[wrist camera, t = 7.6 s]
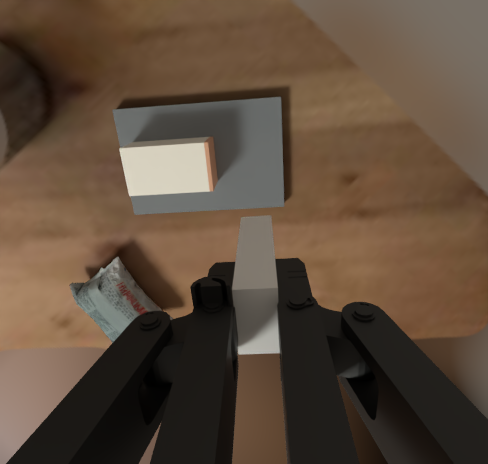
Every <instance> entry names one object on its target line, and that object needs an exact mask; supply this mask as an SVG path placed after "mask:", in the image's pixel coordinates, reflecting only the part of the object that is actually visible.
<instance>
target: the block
mask: <svg viewBox="0 0 488 464" xmlns="http://www.w3.org/2000/svg"><path fill="white" fill-rule="evenodd" d="M119 150H120V155H121V160H122V164H123V169H124V174H125V178H126V183H127V188H128V192H129V196H141V195H159V194H176V193H193V192H210V191H214V189H215V187H216V184H217V182H218V177H217V168H216V159H215V149H214V140H213V137H199V138H184V139H170V140H155V141H141V142H132V143H130V144H128V145H125V146H123V147H121V148H119Z"/></svg>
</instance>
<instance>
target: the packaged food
mask: <svg viewBox="0 0 488 464" xmlns="http://www.w3.org/2000/svg"><path fill="white" fill-rule="evenodd" d="M69 286H70V288H71V291H72V294H73V297H74V299H75V301H76V304H77V305H78V306H80V307H81V308H82V309H83V310H84V311H85V312H86V313H87V314H88V315H89V316H90V317H91V318H92V319H94V321H95V322H96V323H97V324H98V325H99V326H100V328H101V329H102V330H103V332H104V333H105V334H106V335H107V337H108V338H110V340H111V341H112V343H113V342H114V341H115V340H116V339H117V338H118V336H119V335H120V334H121V333H122V332H123V331H124V330H125V329H126V327H127V326H128V325H129V324H130V323H131V322H132V321H133V320H134V319H135V318H136V317H137V316H139V315H141V314H143V313H146V312H150V311H162V310H161V308H160V307H159V306H157V305H156V304H155V303H154V302H153V301H152V300H151V299H150V298H149V297H148V296H147V295H146V294H145V293H144V292H143V290H142V289H141V288H140V287H139V286H138V284H137V283H136V282H135V280H134V279H133V278H132V276H131V275H130V273H129V272H128V271H127V269H126V268H125V266H124V265H123V264H122V262H121V261H120V259H119V257H116V258H115V259H114V260H113V261H112V262H111V263H110V264H109V265H108V266H107V267H106V268H105V269H103V268H101V269H100V270H99V272H98V273H97V274H96V275H95V276H94V277H93V278H92V279H90V280H89V281H87V282H86V283H77V284H76V283H71V284H70V285H69ZM170 319H171V320H172V319H173V318H172V317H170Z"/></svg>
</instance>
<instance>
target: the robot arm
mask: <svg viewBox="0 0 488 464" xmlns="http://www.w3.org/2000/svg"><path fill="white" fill-rule="evenodd" d="M191 294H192V300H193V306H194V309H193V312H192V313H190V314H188V315H186V316H183V317H180V318H176V319H172V320H171V319H170V315H168V314H167V313H166V312H163V311H150V312H146V313H143V314H141V315H139V316H137V317H136V318H135V319H134V320H133V321H132V322H131V323H130V324H129V325H128V326H127V327H126V329H125V330H124V331H123V332H122V333H121V334H120V335H119V336H118V338H117V339H116V340H115V341H114V342H113V343H112V344H111V346H110V347H109V348H108V349H107V350H106V351H105V352H104V353H103V355H102V356H101V357H100V358H99V359H98V360H97V361H96V363H95V364H94V365H93V366H92V367H91V368H90V369H89V370H88V372H87V373H86V374H85V375H84V376H83V377H82V379H80V381H79V382H78V383H77V384H76V385H75V386H74V388H73V389H72V390H71V391H70V392H69V393H68V394H67V395H66V397H65V398H64V399H63V400H62V401H61V402H60V403H59V405H57V407H56V408H55V409H54V410H53V411H52V412H51V414H50V415H49V416H48V417H47V418H46V419H45V420H44V421H43V422H42V424H41V425H40V426H39V427H38V428H37V429H36V430H35V432H34V433H33V434H32V435H31V436H30V437H29V438H28V439H27V441H26V442H25V443H24V444H23V445H22V446H21V447H20V449H19V450H18V451H17V452H16V453H15V454H14V455H13V457H12V458H11V459H10V460H9V461H8V462H7V463H6V464H139V462H140V460H141V458H142V456H143V454H144V452H145V450H146V449H147V447H148V445H149V443H150V441H151V439H152V438H153V436H154V434H155V432H156V430H157V429H158V427H159V425H160V423H161V426H160V430H159V433H158V437H157V440H156V444H155V448H154V451H153V455H152V458H151V462H150V464H232V454H233V440H234V425H235V409H236V394H237V379H238V356H237V352H238V353H239V354H262V353H280V369H281V381H282V396H283V408H284V423H285V436H286V450H287V464H359V460H358V456H357V453H356V449H355V445H354V441H353V437H352V433H351V430H350V426H349V422H348V418H347V414H346V410H345V406H344V403H343V399H342V395H341V391H340V387H339V383H338V380H337V376H336V375H338V376H339V378H340V381H341V383H342V385H343V387H344V388H345V390H346V392H347V394H348V395H349V397H350V398H351V400H352V402H353V404H354V405H355V407H356V409H357V410H358V412H359V414H360V416H361V417H362V419H363V421H364V423H365V424H366V426H367V428H368V430H369V431H370V433H371V435H372V436H373V438H374V440H375V441H376V443H377V445H378V447H379V448H380V450H381V451H382V453H383V455H384V457H385V459H386V460H387V462H388V464H488V419H487V418H486V417H485V416H484V415H483V414H482V413H481V412H480V411H479V410H478V409H477V408H476V407H475V406H474V405H473V404H472V403H471V401H469V400H468V398H467V397H466V396H465V395H464V394H463V393H462V392H461V391H460V390H459V389H458V388H457V387H456V386H455V385H454V384H453V383H452V382H451V381H450V380H449V379H448V378H447V377H446V375H445V374H444V373H443V372H442V371H441V370H440V369H439V368H438V367H437V366H436V365H435V364H434V363H433V362H432V361H431V360H430V359H429V358H428V357H427V356H426V355H425V354H424V353H423V352H422V351H421V350H420V349H419V347H418V346H417V345H416V344H415V343H414V342H413V341H412V340H411V339H410V338H409V337H408V336H407V335H406V334H405V333H404V332H403V331H402V330H401V329H400V328H399V327H398V326H397V324H396V323H395V322H394V321H393V320H392V319H391V318H390V317H389V316H388V315H387V314H386V313H385V312H384V311H383V310H382V309H380V308H379V307H378V306H376V305H373V304H371V303H366V302H353V303H350V304H347V305H346V306H345V307H344V308H343V309H342V312H338V311H333V310H329V309H325V308H323V307H321V306H320V305H318V303H317V301H316V299H315V298H314V297H312V293H311V289H310V285H309V281H308V277H307V273H306V269H305V265H304V263H303V262H302V261H301V260H300V259H298V258H288V259H275V252H274V241H273V230H272V220H271V216H253V217H241V223H240V231H239V238H238V246H237V254H236V262H221V263H215V264H214V265H213V266H212V267H211V268H210V269H209V273H208V277H204V278H201V279H198V280H197V281H195V282H194V283H193V284H192V286H191ZM161 421H162V422H161Z"/></svg>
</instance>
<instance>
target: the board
mask: <svg viewBox="0 0 488 464" xmlns="http://www.w3.org/2000/svg"><path fill="white" fill-rule="evenodd" d="M113 115H114V120H115V124H116V129H117V134H118V138H119V143H120V148H121V147H123V146H125V145H128V144H130V143H132V142H141V141H155V140H170V139H184V138H199V137H213V140H214V149H215V159H216V168H217V177H218V182H217V184H216V187H215V189H214V191H210V192H193V193H176V194H159V195H141V196H131V200H132V204H133V209H134V214H135V215H136V214H155V213H173V212H192V211H210V210H229V209H247V208H266V207H284V180H283V145H282V110H281V96H279V97H266V98H253V99H240V100H227V101H214V102H201V103H188V104H175V105H162V106H149V107H136V108H123V109H114V110H113Z"/></svg>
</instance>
